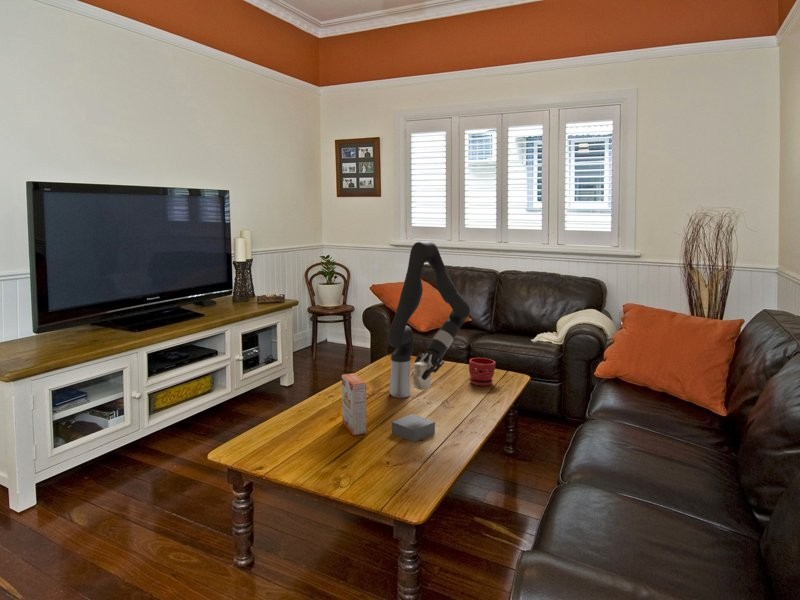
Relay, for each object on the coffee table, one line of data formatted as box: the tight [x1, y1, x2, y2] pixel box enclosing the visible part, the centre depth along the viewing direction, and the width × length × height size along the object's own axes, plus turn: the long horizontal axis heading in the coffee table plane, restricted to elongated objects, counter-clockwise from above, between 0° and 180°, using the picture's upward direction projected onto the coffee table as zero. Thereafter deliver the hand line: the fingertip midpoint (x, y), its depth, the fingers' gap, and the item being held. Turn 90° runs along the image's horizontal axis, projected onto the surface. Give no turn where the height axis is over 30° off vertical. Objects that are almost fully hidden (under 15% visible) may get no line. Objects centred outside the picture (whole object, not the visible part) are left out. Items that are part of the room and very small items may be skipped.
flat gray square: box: [391, 413, 436, 443], centre depth 214 cm, size 12×12×5 cm
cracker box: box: [341, 373, 367, 436], centre depth 217 cm, size 14×6×21 cm, turn 23°
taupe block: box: [412, 361, 432, 391], centre depth 220 cm, size 5×5×10 cm
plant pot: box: [468, 357, 496, 387], centre depth 276 cm, size 13×13×12 cm
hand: (418, 377), depth 219 cm, fingers closed on taupe block, 5 cm apart
